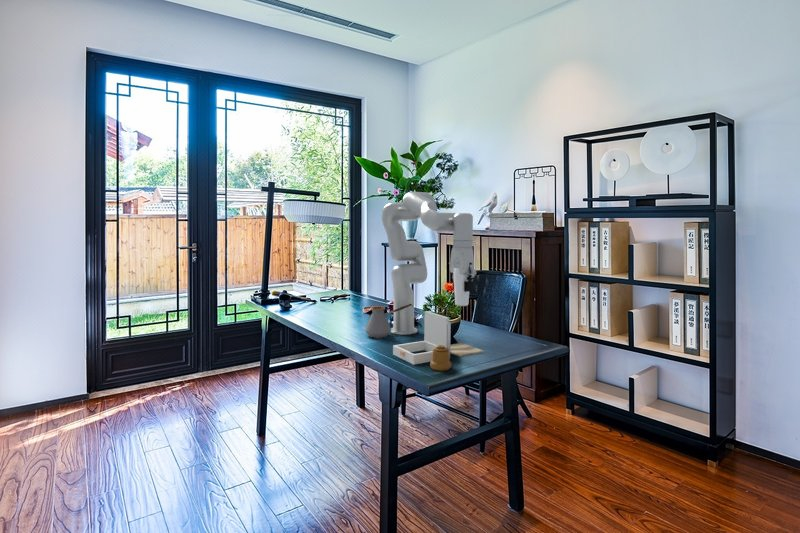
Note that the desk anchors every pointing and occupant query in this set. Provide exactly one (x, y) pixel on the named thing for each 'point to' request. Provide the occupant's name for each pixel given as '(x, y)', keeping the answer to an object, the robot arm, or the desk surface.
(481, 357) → the desk surface
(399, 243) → the robot arm
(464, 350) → the wooden pad
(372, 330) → the coffee pot
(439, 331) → the open case
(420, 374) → the desk surface
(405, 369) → the desk surface
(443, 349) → the ornamental finial
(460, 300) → the drinking glass
